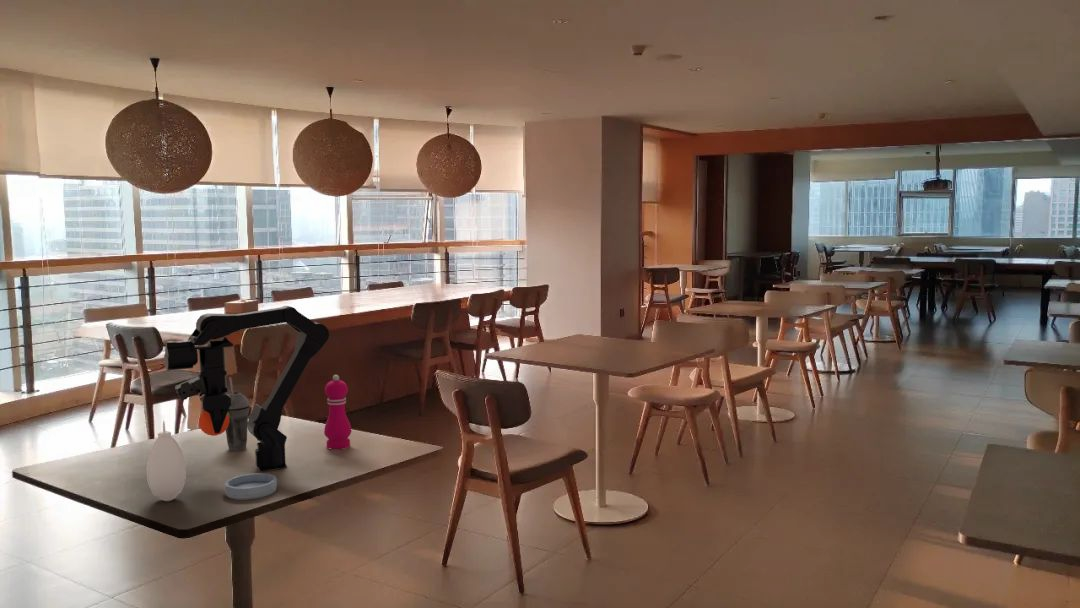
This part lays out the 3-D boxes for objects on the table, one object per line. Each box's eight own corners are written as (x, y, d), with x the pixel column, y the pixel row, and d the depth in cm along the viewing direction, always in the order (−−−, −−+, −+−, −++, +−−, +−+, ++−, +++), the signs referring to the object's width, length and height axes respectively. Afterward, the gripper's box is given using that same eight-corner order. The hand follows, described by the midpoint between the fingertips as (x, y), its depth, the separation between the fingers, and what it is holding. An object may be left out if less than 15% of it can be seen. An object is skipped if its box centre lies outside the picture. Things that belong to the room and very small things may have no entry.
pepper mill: (339, 441, 229) (337, 371, 227) (357, 445, 225) (355, 373, 223) (319, 447, 224) (316, 375, 222) (336, 451, 219) (334, 378, 217)
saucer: (273, 481, 194) (272, 470, 194) (280, 495, 185) (279, 483, 184) (223, 488, 190) (223, 477, 189) (228, 502, 180) (227, 491, 180)
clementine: (239, 432, 201) (238, 403, 200) (223, 439, 194) (221, 410, 193) (210, 431, 202) (209, 402, 202) (193, 438, 196) (191, 409, 195)
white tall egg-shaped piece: (141, 502, 181) (136, 422, 179) (173, 492, 188) (168, 414, 186) (162, 508, 177) (158, 426, 175) (194, 497, 183) (190, 418, 182)
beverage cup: (257, 447, 224) (254, 375, 222) (234, 453, 218) (231, 380, 216) (240, 443, 228) (236, 373, 226) (217, 450, 222) (213, 377, 220)
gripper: (175, 363, 202) (178, 425, 203) (177, 375, 185) (181, 443, 186) (223, 359, 206) (226, 420, 208) (229, 371, 190) (233, 437, 191)
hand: (216, 429), depth 198 cm, fingers closed on clementine, 7 cm apart
